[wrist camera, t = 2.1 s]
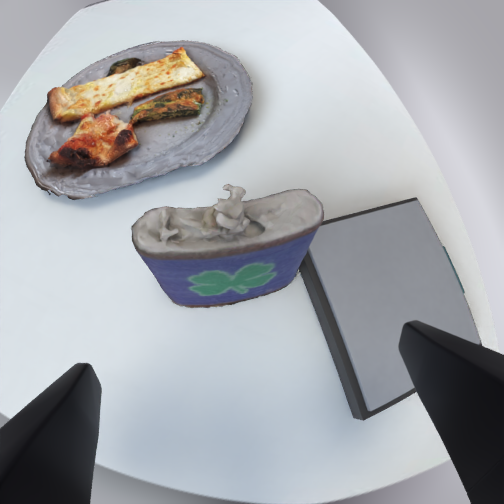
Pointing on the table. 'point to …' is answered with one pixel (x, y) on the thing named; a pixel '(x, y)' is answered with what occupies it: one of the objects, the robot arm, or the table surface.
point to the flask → (228, 246)
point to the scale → (381, 297)
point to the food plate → (137, 117)
